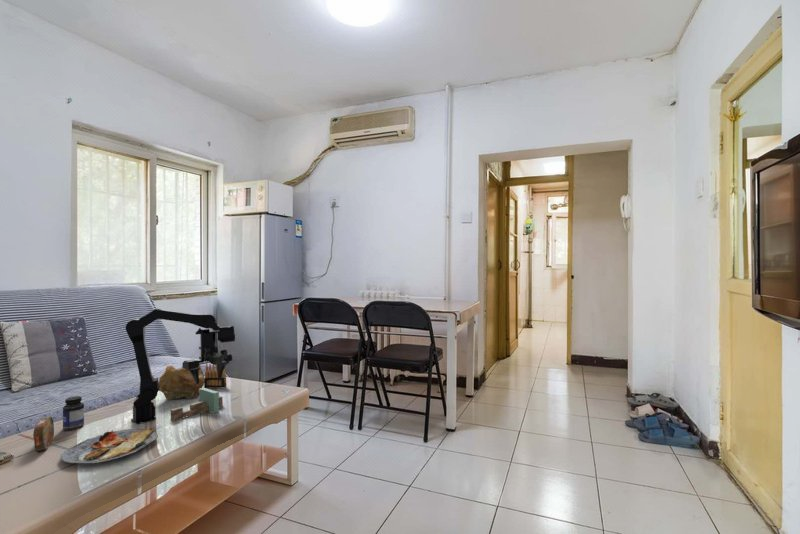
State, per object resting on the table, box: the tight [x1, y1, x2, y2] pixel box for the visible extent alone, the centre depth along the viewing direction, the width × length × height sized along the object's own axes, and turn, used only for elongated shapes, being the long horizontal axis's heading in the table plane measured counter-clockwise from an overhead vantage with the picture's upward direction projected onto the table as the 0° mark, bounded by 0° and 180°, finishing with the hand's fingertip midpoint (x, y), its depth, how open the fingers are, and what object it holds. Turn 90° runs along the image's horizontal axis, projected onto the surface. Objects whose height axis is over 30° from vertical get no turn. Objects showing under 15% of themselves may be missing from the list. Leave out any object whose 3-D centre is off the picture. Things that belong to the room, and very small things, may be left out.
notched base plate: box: [170, 395, 223, 422], centre depth 160 cm, size 20×2×4 cm, turn 144°
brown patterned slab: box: [32, 416, 55, 452], centre depth 130 cm, size 15×3×8 cm, turn 32°
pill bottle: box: [62, 395, 85, 431], centre depth 146 cm, size 6×6×11 cm
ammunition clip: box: [203, 363, 227, 388], centre depth 197 cm, size 11×2×12 cm, turn 86°
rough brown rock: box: [158, 365, 205, 401], centre depth 183 cm, size 23×17×15 cm
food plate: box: [59, 427, 159, 465], centre depth 126 cm, size 25×23×4 cm
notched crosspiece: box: [198, 387, 220, 414], centre depth 163 cm, size 2×12×8 cm, turn 54°
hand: (208, 381), depth 164 cm, fingers open, 9 cm apart
